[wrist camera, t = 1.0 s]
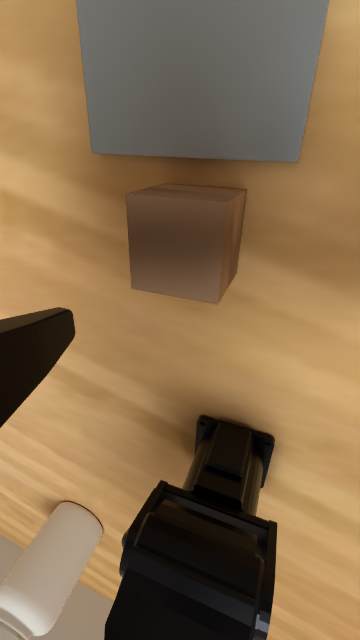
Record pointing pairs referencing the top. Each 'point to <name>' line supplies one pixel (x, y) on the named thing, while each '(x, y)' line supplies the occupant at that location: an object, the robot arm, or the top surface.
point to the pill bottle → (47, 572)
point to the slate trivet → (200, 76)
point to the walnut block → (185, 239)
